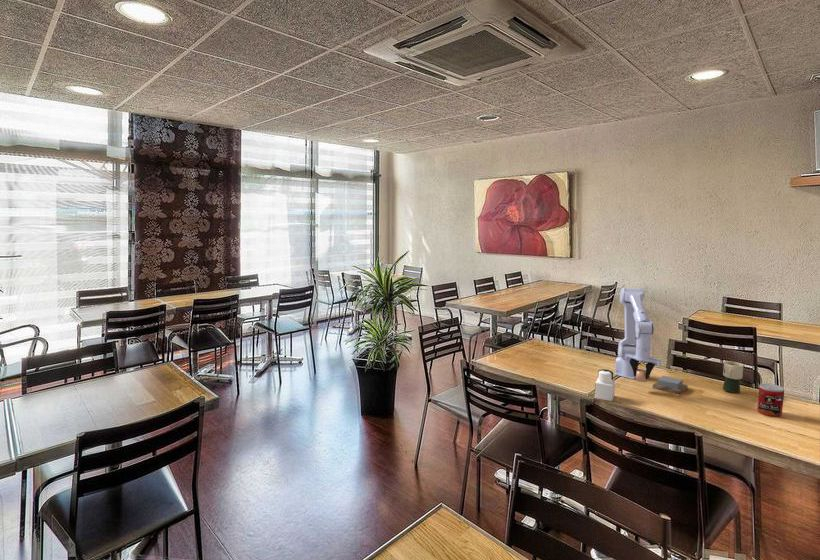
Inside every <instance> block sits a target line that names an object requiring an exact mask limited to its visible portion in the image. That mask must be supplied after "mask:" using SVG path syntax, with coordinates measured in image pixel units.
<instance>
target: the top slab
mask: <svg viewBox="0 0 820 560" xmlns="http://www.w3.org/2000/svg"><path fill="white" fill-rule="evenodd" d="M657 382H658V385H660V386H665V387H669V388H674V389H678V388H679V387H681V386H682V384H684V380H683V379H682V378H678V377H677V378H676V377H673V376H668V375H662V376H661V377H659V378H658V379H657Z"/></svg>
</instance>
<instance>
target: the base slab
mask: <svg viewBox="0 0 820 560" xmlns="http://www.w3.org/2000/svg"><path fill="white" fill-rule="evenodd" d="M688 387H689V386H688V384H684V383H683V384H682V386H681V387H679V388H678V389H674V388H669V387H665V386H660V385H658V381H656V382H655V383H654V384H652V389H654V390H658V391H662V392H666V393H670V394H673V393H674V395H677V394H678V396H680V395H681V394H682V392H683V393H684V392H686V390H688Z"/></svg>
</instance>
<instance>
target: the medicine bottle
mask: <svg viewBox="0 0 820 560" xmlns="http://www.w3.org/2000/svg"><path fill="white" fill-rule="evenodd" d="M594 384H595V385H594V387H595V388H594V399H598V400H604V401H607V402H608V401H609V402H612V401H613V400H614V397H615V391H616V390H615V389H616V388H615V387H616V381H615V380H614V372H613V371H612V370H610V369H605V368H604V369H603V368H602V369H599V370H598V371H597V379H596V381H595V383H594Z"/></svg>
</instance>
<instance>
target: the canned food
mask: <svg viewBox="0 0 820 560" xmlns="http://www.w3.org/2000/svg"><path fill="white" fill-rule="evenodd" d="M757 396H758V397H757V405H756V406H757V408H756V409H757V413H759V414H761V415H762V416H766V417H770V418H780V417H781V416H782V415H783V407H784V397H785V388H784V387H782V386H780V385H778V384H773V383H760V384H759V385H758V394H757Z"/></svg>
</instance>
